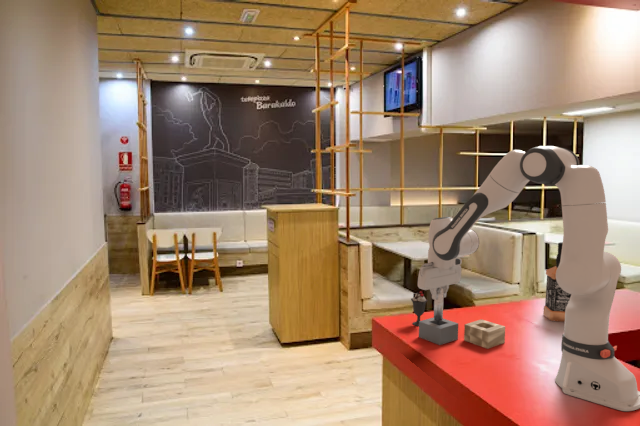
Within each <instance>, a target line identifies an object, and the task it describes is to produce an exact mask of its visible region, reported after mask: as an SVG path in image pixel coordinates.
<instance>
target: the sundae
mask: <svg viewBox="0 0 640 426" xmlns="http://www.w3.org/2000/svg"><path fill="white" fill-rule="evenodd" d="M423 291H424V290H423V289H421V290H420V291H419V292H413V297H412V298H410V301H411V302H412V307H413V308H412V309H413V310H412V311H413V313H414V314H415V315H416V317H417V320H416V321H413V322H412V323H411V324H412V325H413V326H416V327H419V321H421V316H422V315H424V314H425V310H426V304H427V302H428V301H429V300H428V299H426V297H425V296H424V293H423Z"/></svg>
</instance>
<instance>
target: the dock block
mask: <svg viewBox="0 0 640 426" xmlns="http://www.w3.org/2000/svg"><path fill="white" fill-rule="evenodd" d="M418 338H420V339H423V340H425V341H428V342H431V343H433V344H434V345H438V346H441V345H444V344H447V343H450V342H453V341H457V340H458V339H459V323H458V322H455V321H453V320H449V319H446V318H443V320H442V321H437V320H434V316H433V317H430V318H426V319H422V320H420V321H419V326H418Z"/></svg>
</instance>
